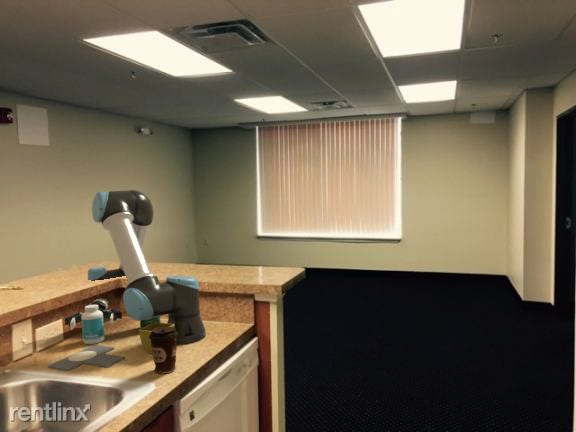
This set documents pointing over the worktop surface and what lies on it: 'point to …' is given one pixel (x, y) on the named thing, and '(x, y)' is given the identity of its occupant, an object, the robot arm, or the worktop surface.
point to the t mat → (88, 358)
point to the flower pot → (147, 331)
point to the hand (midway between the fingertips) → (91, 324)
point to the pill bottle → (92, 325)
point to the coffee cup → (164, 348)
